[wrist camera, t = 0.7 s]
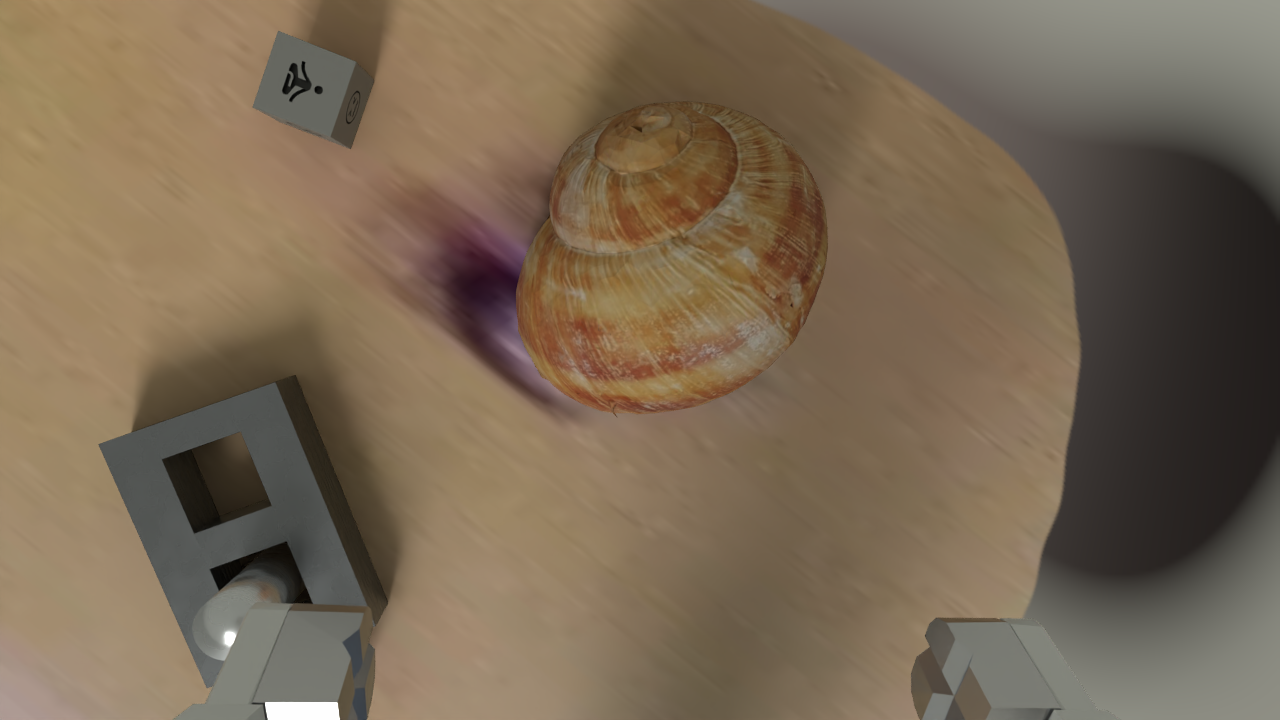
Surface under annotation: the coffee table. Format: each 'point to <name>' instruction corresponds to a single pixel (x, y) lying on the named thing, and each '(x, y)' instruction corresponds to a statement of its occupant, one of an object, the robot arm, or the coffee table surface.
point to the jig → (242, 519)
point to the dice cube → (314, 90)
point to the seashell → (671, 259)
